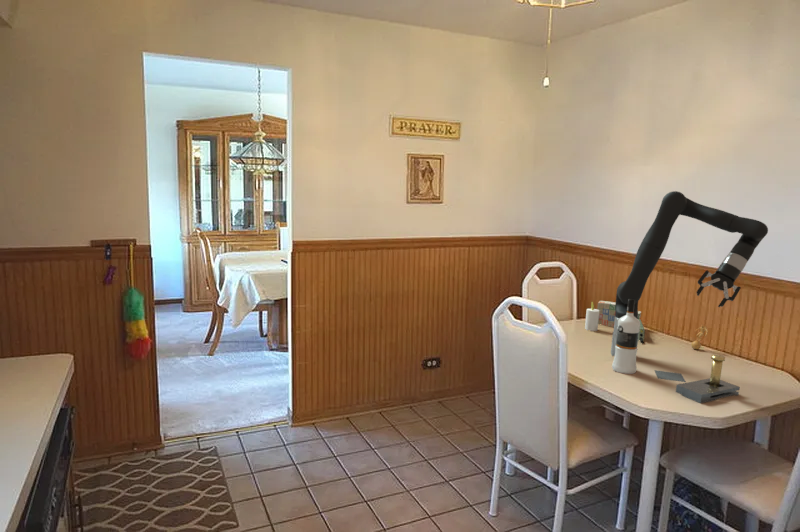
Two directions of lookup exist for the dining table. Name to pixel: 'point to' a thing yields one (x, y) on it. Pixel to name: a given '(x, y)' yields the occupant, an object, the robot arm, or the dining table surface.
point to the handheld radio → (641, 332)
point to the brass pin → (716, 370)
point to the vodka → (627, 342)
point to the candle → (592, 319)
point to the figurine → (696, 343)
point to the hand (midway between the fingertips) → (708, 301)
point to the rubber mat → (669, 376)
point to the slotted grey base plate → (706, 390)
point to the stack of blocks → (608, 313)
